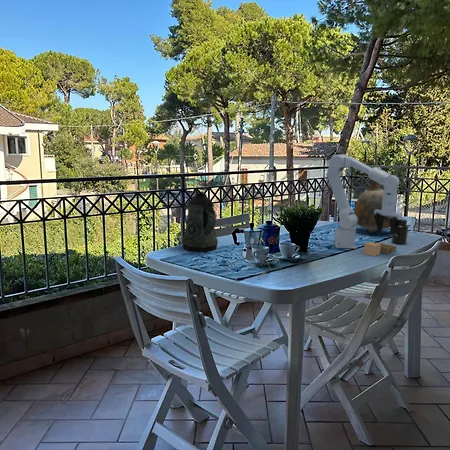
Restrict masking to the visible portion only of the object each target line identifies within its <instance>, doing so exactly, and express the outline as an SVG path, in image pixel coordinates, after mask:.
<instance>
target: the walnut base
mask: <svg viewBox="0 0 450 450" xmlns="http://www.w3.org/2000/svg"><path fill="white" fill-rule="evenodd" d="M378 244H381V247H380V254H384V253H385V254H384V255H389V254H388V253H390V254H392V253H391V252H393V253H395V251H396V252H397V245H393V244H389V243H385V242H378Z"/></svg>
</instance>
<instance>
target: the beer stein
mask: <svg viewBox="0 0 450 450" xmlns="http://www.w3.org/2000/svg"><path fill="white" fill-rule="evenodd" d="M186 208H187V216H186V217H187V218H186V224H185V231H184V234H183V237H182V239H181V245H182V247H183V250H185V251H186V252H187V251H188V252H192V253H207V252H208V253H209V252H210V253H211V252H213V251H215V250H217V247H218V244H219V243H218V242H219V241H218V240H219V239H218V237H217V235H216V228H215V225H216V221H217V212H216V211H215V204H214V202H213V201H212V200H211V199H210V198H209V197H208V196H207V194H205V193H196V195H194V197H193V198H192V199H190V200H189V201H188V202H187V203H186Z"/></svg>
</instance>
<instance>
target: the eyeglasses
mask: <svg viewBox="0 0 450 450" xmlns="http://www.w3.org/2000/svg"><path fill="white" fill-rule="evenodd" d="M253 254H255V255H256V252H255V253H254V252H251V253H250V255H253ZM250 255H248V256H245V257H243V258H241V259H239V260H237V261H234V262H232V263H230V264H227V265H226V271H228V267H229V266H232V265H234V264H237V262H238V263H239V262H240V261H243V260H245V259H247V258H248V262H249V263H251V261H250ZM257 255H259V256H261V257H267V258H266V260H267V264H268V267H269V268H270V267H271V266H270V264H269V259H273V260H274V259H275V260H277V262H278V264H279V265H277V266H275V267H273V268H270V269H269V270H267V271H265V272H263V273H261V274H259V276H258V279H259V278H261V276H262V275H264V274H266V273H268V272H270V271H272V270H274V269H277V268H278V267H279V269H281V268H282V267H281V263H280V260H279V259H277V258H274V257H271V256H269V257H268V256H267V255H263V254H258V253H257ZM264 260H265V258H262V263H261V264H260V266H262V265H263V264H264Z"/></svg>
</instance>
